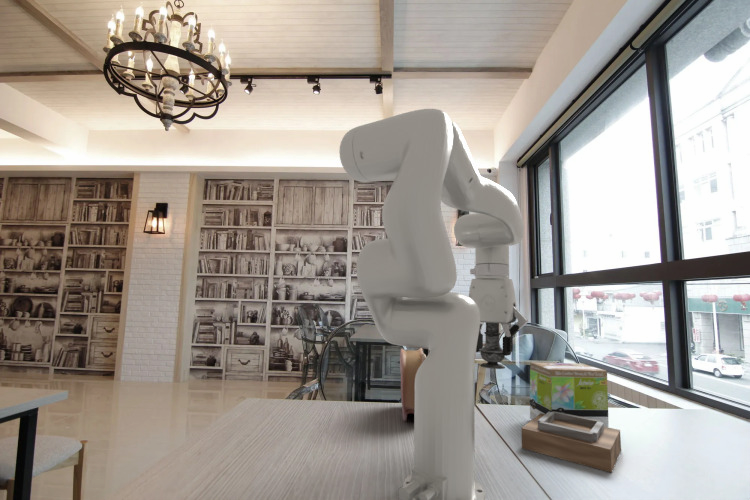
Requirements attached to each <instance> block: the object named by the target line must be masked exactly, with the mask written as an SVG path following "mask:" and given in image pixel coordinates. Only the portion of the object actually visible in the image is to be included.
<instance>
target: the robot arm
mask: <svg viewBox="0 0 750 500" xmlns="http://www.w3.org/2000/svg"><path fill="white" fill-rule="evenodd" d="M339 158H340V159H339V161H340V163H341V165H342V167H343V169H344V172H346V174H347V175H348V176H349V177H350V178H351V179H353V180H355V181H356V182H359V183H373V182H383V181H390V180H393V182H392V184H391V187H390V189H389V190H388V193H387V195H386V197H385V200H384V202H383V207H382V213H381V219H382V223H383V224H382V225H383V228H384V231H385V234H386V237H387V238H381V239H380V238H379V239H375V240H372V241H370V242H368V243H366V244H365V245H364V246H363V247H362V248H361V249H360V251H359V254H358V256H357V258H356V259H357V260H356V278H357V279H356V280H357V283H358V286H359V290H360V292H361V294H362V297H363V299H364V302H365V304H366V306H367V309H368V311H369V313H370V315H371V318H372V320H373V322H374V324H375V327H376V329H377V331H378V333H379V334H380V336H381V337H382V339H383V340H384V341H385V342H387V343H389V344H391V345H396V346H401V347H410V348H417V349H420V348H422V349H423V350H424V349H425V350H429V352H428V354H427V355H426V359H425V360H424V361H423V363H422V364H421V365H420V367H419V369H418V370H417V373H416V377H415V410H414V413H413V415H414V417H413V418H414V419H413V421H414V423H413V430H414V431H413V468H411V473H410V474H408V476H407V477H405V478H404V481H403V486H401V487H400V488H398V490H397V491H398V492H397V496H398V498H399V500H486V491H485V488H484V487H483V486H482V485H481V483H479V482H478V481H477V480H476V477H475V475H476V474H475V473H476V470H475V469H476V463H475V460H476V459H475V457H476V456H475V452H476V450H475V448H476V446H475V445H476V444H475V442H476V441H475V439H476V438H475V437H476V435H475V433H476V432H475V430H476V429H475V421H476V420H475V416H476V415H475V406H476V405H475V376H476V375H475V373H476V372H475V369H476V355H477V353H479V352H480V351H479V349H482V348H483V347H484V340H483V339H484V334H483V333H482V328H483V326H484V323H485V324H486V323H499V324H501V328H502V330H503V333H504V336H503V337H502V349H503V355H505V356H506V357H507V356H510V355H511V354H512V352H513V350H514V346H513V345H514V341H513V340H514V338H513V337H515V335H516V334H517V333H518V332H519V331H520V330H521V329H522V328H523V327H525V326H526V325H527V324H528V322H529V321H528V319H527V318H526V317H525V316H524V315H523V314H522V313H521V312H520V310H519V309H518V307H517V299H516V292H515V287H514V282H513V278H510V247H511V246H516V245H517V244H519V243H520V242H521V241H522V239H523V238H524V236H525V235H524V234H525V223H524V218H523V215H522V213H521V210H520V206H519V204H518V202H517V200H516V197H515V196H514V195H513V194H512V193H511V192H510V191H509V190H507V189H506V188H504V187H503V186H501V185H500V184H498V183H496V182H494V181H492V180H490V179H488V178H485V177H483V176H481V174H480V172H479V170H478V168H477V166H476V165H477V164H476V162H475V161H474V159H473V157H472V154H471V152H470V149H469V147H468V145H467V141H466V140H465V137H464V136H463V134H462V131H461V129H460V128H459V127H458V125H457V123H455V122H453V121H451V119H450V117H449V115H448V114H447V113H446V112H444V111H443V110H441V109H436V108H423V109H416V110H412V111H410V110H409V111H408V112H403V113H399V114H396V115H393V116H390V117H386V118H384V119H380V120H379V119H378V120H376V121H373V122H369V123H365V124H362V125H358V126H355V127H354V128H351V129H349V130H348V131H347V132H346V133H344V135H343V137H342V139H341V141H340V145H339ZM441 202H442V203H443V204H444V205H445V206H447V207H449V208H452V209H456V210H458V211H459V210H460V211H462V212H469V214H464V215H462V216H460V217H458V218H457V219H456V220H455V223H454V226H453V235H454V237H455V239H456V241H457V242H458V243H459V245H460V246H462V247H465V248H469V249H475V250H474V251H475V256H474V257H475V259H474V260H475V261H474V262H475V265H474V268H471V269H469V272H470V273H469V274H470V275H473V276H474V278H471V282H470V284H469V285H470V286H469V290H468V291H469V292H468V295H466V294H463V293H459V292H452V290H453V289H454V287H455V285H456V283H457V276H458V274H457V267H456V266H457V265H456V260H455V257H454V252H453V249H452V246H451V243H450V239H449V235H448V231H447V228H446V225H445V221H444V216H443V212H442V205H441ZM516 321H517V322H516ZM515 322H516V323H515ZM513 323H515V324H513ZM512 324H513V325H512Z"/></svg>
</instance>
